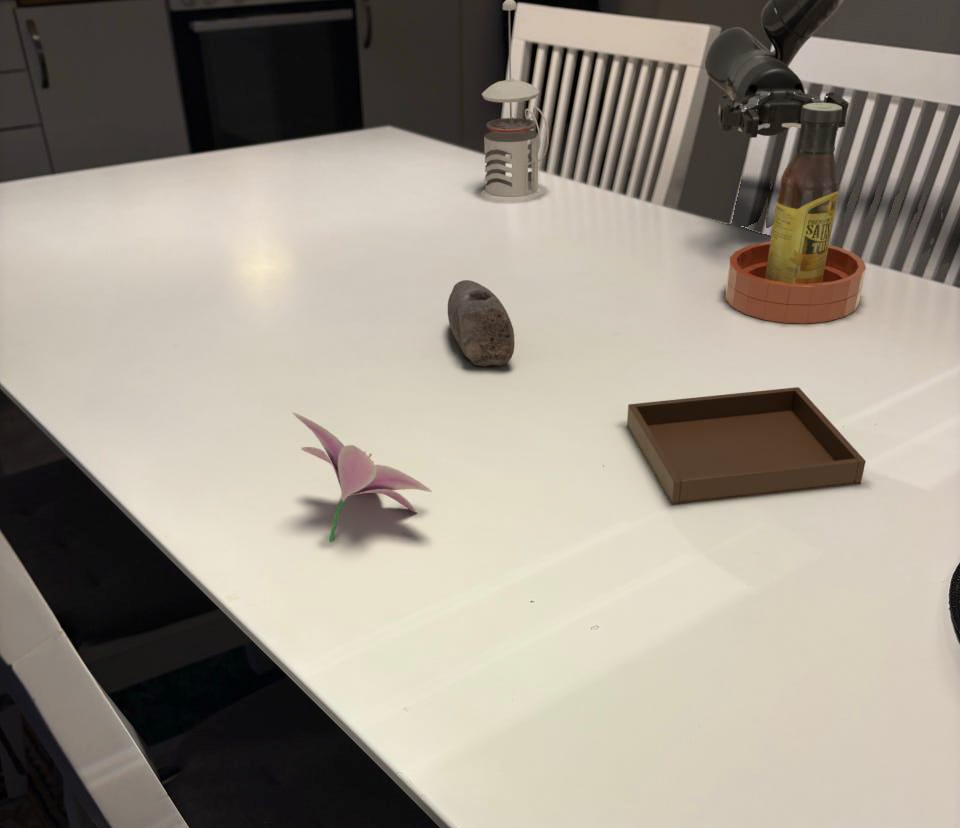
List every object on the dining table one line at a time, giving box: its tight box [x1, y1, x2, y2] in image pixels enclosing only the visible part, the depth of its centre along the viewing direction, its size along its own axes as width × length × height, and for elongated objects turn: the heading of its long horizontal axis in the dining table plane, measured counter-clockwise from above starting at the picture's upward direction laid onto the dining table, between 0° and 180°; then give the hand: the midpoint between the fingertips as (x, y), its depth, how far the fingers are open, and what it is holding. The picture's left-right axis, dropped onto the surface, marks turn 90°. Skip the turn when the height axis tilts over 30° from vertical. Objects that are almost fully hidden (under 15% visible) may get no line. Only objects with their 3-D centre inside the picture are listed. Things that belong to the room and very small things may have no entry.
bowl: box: [725, 241, 867, 324], centre depth 117 cm, size 15×15×4 cm
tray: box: [626, 386, 867, 506], centre depth 90 cm, size 16×14×2 cm
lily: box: [291, 412, 433, 543], centre depth 82 cm, size 12×12×10 cm
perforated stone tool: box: [447, 279, 516, 368], centre depth 109 cm, size 15×5×7 cm, turn 13°
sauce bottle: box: [765, 103, 842, 284], centre depth 112 cm, size 7×6×20 cm
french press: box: [480, 0, 550, 203], centre depth 146 cm, size 10×12×25 cm
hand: (793, 126), depth 116 cm, fingers open, 8 cm apart
